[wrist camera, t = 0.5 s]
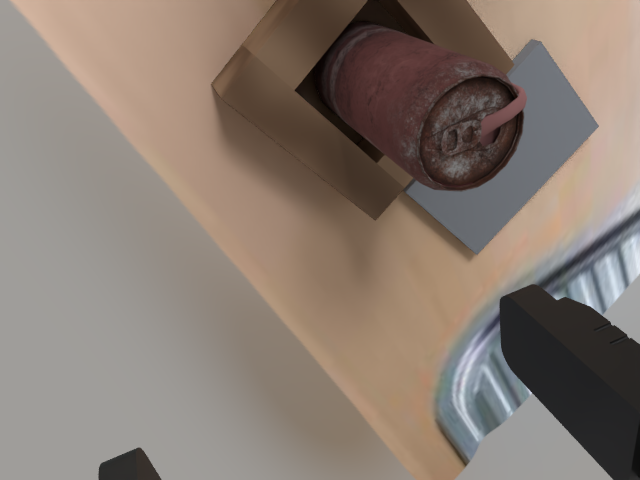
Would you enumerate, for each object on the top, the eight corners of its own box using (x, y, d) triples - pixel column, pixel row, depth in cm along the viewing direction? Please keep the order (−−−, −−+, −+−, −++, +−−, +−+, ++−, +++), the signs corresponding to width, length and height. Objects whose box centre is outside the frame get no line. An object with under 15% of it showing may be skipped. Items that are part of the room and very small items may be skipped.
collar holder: (358, -105, 31) (384, -108, 28) (484, 54, 38) (514, 64, 36) (211, 83, 33) (221, 98, 30) (356, 199, 41) (375, 220, 38)
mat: (531, 39, 39) (540, 41, 38) (589, 122, 45) (599, 126, 44) (399, 187, 41) (405, 192, 41) (470, 249, 47) (476, 254, 46)
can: (416, 66, 37) (556, 128, 26) (349, 132, 38) (456, 222, 26) (365, -5, 34) (500, 30, 22) (293, 69, 35) (386, 141, 23)
